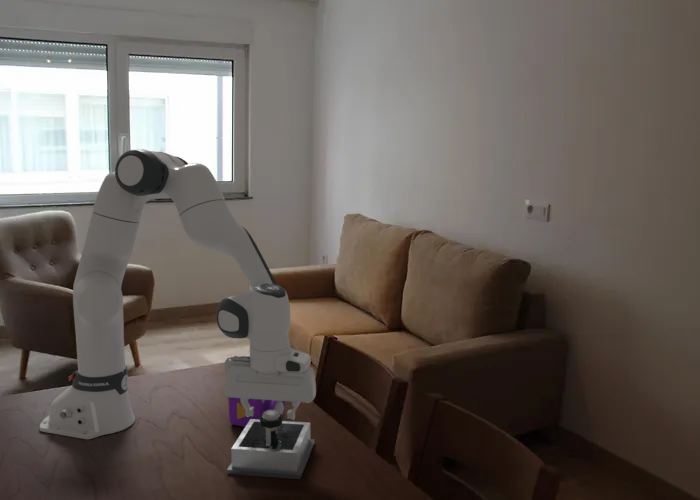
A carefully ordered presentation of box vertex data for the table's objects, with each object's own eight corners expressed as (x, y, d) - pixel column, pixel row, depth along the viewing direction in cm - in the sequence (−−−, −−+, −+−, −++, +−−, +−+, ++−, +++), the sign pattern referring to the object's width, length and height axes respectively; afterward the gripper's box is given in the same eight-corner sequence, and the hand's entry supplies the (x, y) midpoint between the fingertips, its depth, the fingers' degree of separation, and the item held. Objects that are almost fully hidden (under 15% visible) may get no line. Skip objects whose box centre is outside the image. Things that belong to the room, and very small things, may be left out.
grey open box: (227, 474, 149) (226, 450, 148) (248, 439, 166) (248, 417, 165) (300, 479, 147) (299, 455, 146) (314, 443, 164) (314, 421, 163)
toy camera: (278, 434, 169) (277, 395, 167) (225, 429, 171) (224, 391, 170) (290, 416, 179) (290, 379, 177) (240, 411, 182) (239, 375, 180)
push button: (269, 445, 161) (269, 404, 159) (290, 449, 159) (290, 408, 157) (255, 457, 155) (254, 415, 153) (276, 462, 153) (276, 419, 151)
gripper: (219, 359, 150) (220, 419, 153) (312, 365, 148) (311, 426, 150) (228, 350, 157) (229, 408, 159) (317, 356, 154) (317, 414, 156)
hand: (270, 417), depth 155 cm, fingers open, 8 cm apart
